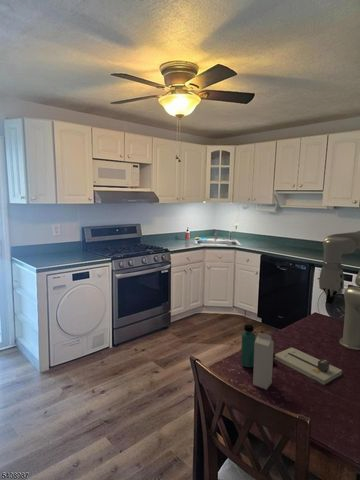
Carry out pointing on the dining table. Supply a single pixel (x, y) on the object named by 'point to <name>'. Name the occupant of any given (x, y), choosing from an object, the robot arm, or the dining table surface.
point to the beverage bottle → (248, 346)
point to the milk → (263, 361)
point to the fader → (323, 365)
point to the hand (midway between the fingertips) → (329, 303)
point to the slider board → (307, 365)
